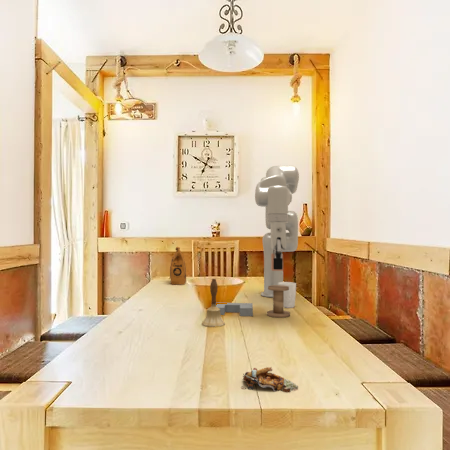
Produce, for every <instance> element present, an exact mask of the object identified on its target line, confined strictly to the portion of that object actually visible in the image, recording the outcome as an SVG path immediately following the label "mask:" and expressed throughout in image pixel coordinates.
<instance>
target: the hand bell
mask: <svg viewBox="0 0 450 450" xmlns="http://www.w3.org/2000/svg"><path fill="white" fill-rule="evenodd" d="M209 287H210V288H209V290H210V295H211V302H210V303H211V304H210V305H211V306H210V307H208V308H207V310H206V315H205V318H204V320H203V321H202V322H201V325H202V326H205V327H208V326H209V327H210V328H216V327H215V326H220V327H223V325H224V326H225V325H226V323H225V321H224V320H223V317H222V316H221V314H220V309H219V308H217V307H216V303H217V294H218V289H219V287H218V283H217V279H216V278H212V279H211V282H210V285H209Z"/></svg>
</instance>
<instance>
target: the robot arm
mask: <svg viewBox="0 0 450 450" xmlns="http://www.w3.org/2000/svg"><path fill="white" fill-rule="evenodd" d="M299 180H300V173H299V170H298V168H297V167H296V166H294V165H274V166H270V167H269V168H267V170H266V173H265V176H264V177H262V178H261V179H260V181H258V183H257V184H256V186H255V191H254V200H255V204H256V205H257V206H258V207H261V208H262V207H263V208H264V207H265V217H264V218H265V226H266V228H267V230H270V232H266V233H265V234H264V235H263V236H262V248H263V291H261V292H260V295H261V296H262V297H265V298H273V290H269V289H268V286H271V285H278V283H279V282H284V270H283V271H272V270H271V254H274V269H280V270H281V269H282V268H283V269H284V257H283V258H282V254H283V252H284V253H286V252H295V251H297V249H298V245H299V217H298V214H297V213H296V211H293V210H289V205H290V204H291V203H292V201H293V194H295V193H296V192H297V189H298V186H299ZM287 231H288V232H287Z"/></svg>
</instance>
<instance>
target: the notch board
mask: <svg viewBox="0 0 450 450" xmlns="http://www.w3.org/2000/svg"><path fill="white" fill-rule="evenodd" d="M226 303H227V304H217V305H216V307H217V308H219V309H220V314H221V315H224V316H225V314H226V313H239V316H240V317H253V316H254V314H253V312H254V310H253V309H254V306H253V305H254V304H253V302H246V303H245V302H226Z"/></svg>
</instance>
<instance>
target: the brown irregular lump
mask: <svg viewBox="0 0 450 450" xmlns="http://www.w3.org/2000/svg"><path fill="white" fill-rule="evenodd" d="M273 370H274V369H273V368H272V366H270V367H269V366H268V367H267V366H266V367H264V368H261V369H259V370H258V369H257V368H256V367H254V368H253V369H251V371H246V372H245V373H242V374H243V375H242V381H243V382H245V383H246V385H247V388H246V387H244V386H241V387H240V389H241V390H249V391H251V390H252V391H253V390H254V387H253V386H254V385H255V384H257V386H259V387H260V388H263V389H267V388H271V389H272V390H273V392H279V391H280V392H283V393H290V392H296V391H299V386H298V385H297V384H296V383H294V382H293V381H291V380H290V379H288V378H287V379H286V378H285V377H284V376H283V377H282V376H281V375H278V374H275V373H272V371H273Z"/></svg>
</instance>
